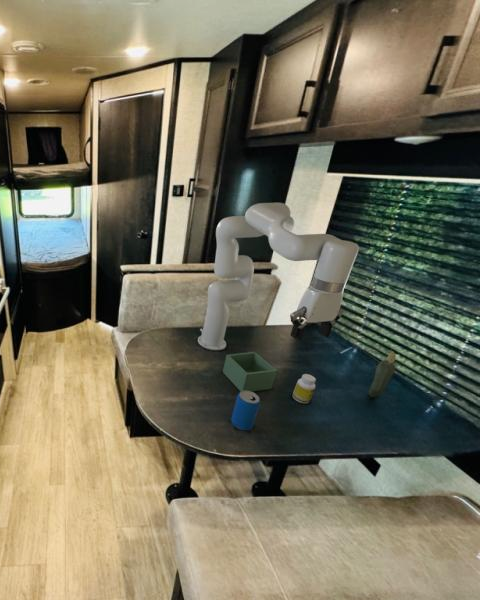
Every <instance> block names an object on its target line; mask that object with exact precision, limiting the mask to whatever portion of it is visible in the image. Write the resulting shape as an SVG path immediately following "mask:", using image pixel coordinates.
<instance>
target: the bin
mask: <svg viewBox="0 0 480 600" xmlns="http://www.w3.org/2000/svg"><path fill="white" fill-rule="evenodd" d="M277 372H278V370H277V369H276V368H275V367H274V366H272V364H270V363H269V362H268V361H266V359H264V358H263V357H262V356H260V355H259V354H258V353H257V352H256V351H247V352H239V353H231V354H226V355H225V361H224V364H223V369H222V373H223V375H225V376H226V378H227V379H229V381H230V382H231V383H232V384H233V386H235V387H236V388H237V390H238V391H239V392H241V391H245V390H246V391H251V392H256V391H257V392H258V391H265V390H271V389H272V388H273V385H274V382H275V379H276V376H277Z"/></svg>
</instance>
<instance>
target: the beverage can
mask: <svg viewBox="0 0 480 600" xmlns="http://www.w3.org/2000/svg"><path fill="white" fill-rule="evenodd" d="M260 405H261V401H260V397H259V395H257V394H256V393H255V392H254V391H246V390H245V391H239V393H238V394H237V396H236V399H235V404H234V406H233V410H232V411H233V412H232V414H231V418H230V420H231V423H232V424H233V426H234V427H235V428H237V429H239V430H241V431H250V430H252V429H253V428H254V424H255V421H256V417H257V414H258V411H259V408H260Z"/></svg>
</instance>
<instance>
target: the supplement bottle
mask: <svg viewBox="0 0 480 600" xmlns="http://www.w3.org/2000/svg"><path fill="white" fill-rule="evenodd" d="M316 380H317V379H316V377H314V376H313V375H311V374H308V373H304V374H302V376H301V378H299V379H297V382H296V385H295V387H294V389H293V392H292V394H291V395H292V398H293V399H294V400H295V401H296V402H298V403H300V404H308V403H310V401H311V399H312V397H313V395H314V392H315V390H316V384H315V383H316Z"/></svg>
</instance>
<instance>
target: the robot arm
mask: <svg viewBox="0 0 480 600" xmlns="http://www.w3.org/2000/svg"><path fill="white" fill-rule="evenodd" d="M244 214H245V215H233V216H227V217H224V218H222V219H221V220H219V222H218V224H217V226H216V229H215V239H216V250H215V258H214V259H215V260H214V267H213V268H214V269H213V272H214V276H215V278H218V279H226V280H218V281H217V280H216V281H214V282H212V283H211V284H210V285H209V286H208V288H207V305H206V312H205V317H204V322H203V327H202V328H200V329H199V332H201V335H199V336H198V338H197V343H198V344H199V345H200V346H201V347H203V348H204V349H207V350H210V351H222V350H224V349H226V348H227V342H226V341H225V336H226V331H227V327H228V323H229V322H228V321H229V318H230V308H229V307H228V305H227V304H228V303H232V302H233V303H234V302H242V301H245V300H247V299H248V298H249V296H250V294H251V290H252V286H253V285H252V283H253V279H254V272H255V266H254V261H253V259H252V258H251V257H249V255H244V254H243V255H242V254H241V255H239V251H240V245H239V242H238V240H237V239H243V238H245V239H246V238H258V237H262V236H266V237H267V239H268V243H269V247H270V248H271V250H272V251H273V252H275V253H276V254H278V255H279V256H281V257H283V258H284V259H286V260H289V261H292V262H302V261H303V262H304V261H317V264H316V267H315V270H314V273H313V277H312V280H311V283H310V285H309V286H307V288H306V289H305V291H304V293H303V294H302V296H301V298H300V300H299V302H298V306H297V308H296V310H295V311H293V312H291V313H290V314H289V317H290V322H291V324H292V325H293V326H292V329H291V332H290V336H291V337H292V338H294V339H295V340H296V341H301V340H302V337H303V333H304V331H305V328H304V327H306V326H307V324H312V323H314V324H315V323H320V325H319V328H318V330H317V332H318V334H320V335H321V336H323V337H325V338H329V336H330V335H331V332H332V329H333V326H335V325H336V323H337V321H339V320H340V319H341V317H342V316H343V314H345V310H344V309H343V308H341V305H342V301H343V298H344V291H345V290H344V289H345V288H346V284H347V282H348V279H349V277H350V274H351V271H352V268H353V266H354V263H355V261H356V258H357V256H358V253H359V250H360V247H359V245H358V244H357V243H355V242H353V241H350V240H344V239H343V240H342V239H340V238H338V237H336V236H335V235H332V234H328V233H307V234H306V233H305V234H296V233H294V232H292V231H293V229H294V226H295V220H294V218H293V216H291V209H290V207H289V206H288V205H287V204H286V203H283V202H260V203H254V204H253V205H250V206H249V207H248V208H247V210H246V211H245V213H244ZM227 279H228V280H227ZM229 279H230V280H229ZM301 321H302V322H301Z"/></svg>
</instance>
